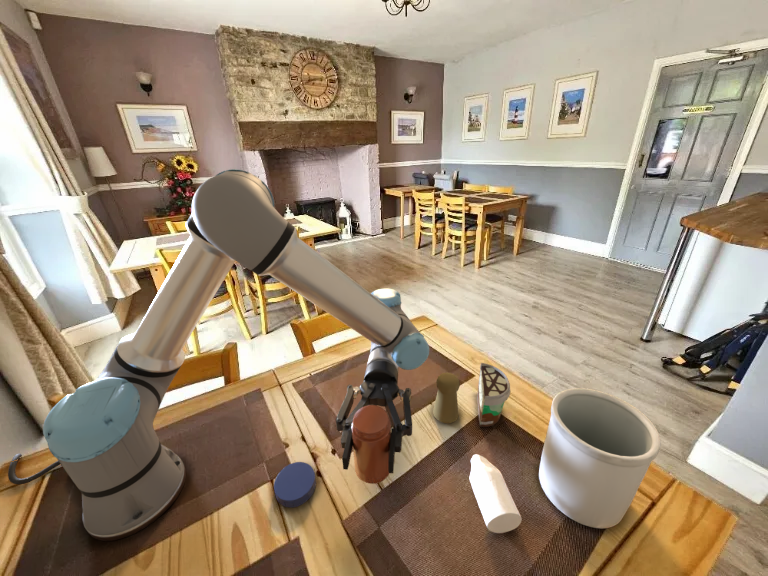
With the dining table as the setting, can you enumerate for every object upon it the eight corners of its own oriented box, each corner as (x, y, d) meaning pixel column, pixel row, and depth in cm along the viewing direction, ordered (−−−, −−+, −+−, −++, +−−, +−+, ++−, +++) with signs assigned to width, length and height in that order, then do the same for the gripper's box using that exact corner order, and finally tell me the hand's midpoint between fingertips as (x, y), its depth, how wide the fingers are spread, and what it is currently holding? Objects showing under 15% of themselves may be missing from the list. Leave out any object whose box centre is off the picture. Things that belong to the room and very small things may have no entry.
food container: (509, 436, 68) (516, 401, 64) (480, 431, 69) (485, 398, 65) (501, 395, 79) (507, 364, 75) (476, 392, 80) (480, 361, 76)
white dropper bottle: (489, 464, 62) (492, 444, 60) (519, 530, 52) (525, 510, 49) (460, 467, 62) (462, 448, 60) (484, 535, 51) (488, 515, 49)
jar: (351, 482, 55) (347, 433, 50) (358, 448, 61) (354, 402, 56) (389, 485, 54) (389, 436, 49) (392, 450, 61) (392, 404, 55)
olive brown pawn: (463, 418, 73) (467, 382, 68) (441, 426, 71) (444, 389, 66) (449, 400, 78) (452, 365, 73) (428, 408, 76) (430, 372, 72)
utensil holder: (518, 459, 63) (533, 393, 56) (582, 446, 66) (605, 381, 58) (570, 541, 50) (599, 469, 43) (648, 521, 52) (689, 450, 45)
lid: (323, 477, 61) (322, 471, 60) (298, 515, 55) (296, 508, 54) (294, 462, 64) (292, 456, 63) (267, 496, 58) (265, 489, 57)
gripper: (424, 387, 72) (428, 485, 51) (341, 382, 74) (311, 476, 53) (426, 360, 69) (430, 454, 48) (338, 356, 70) (305, 445, 50)
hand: (367, 465), depth 50 cm, fingers closed on jar, 7 cm apart
